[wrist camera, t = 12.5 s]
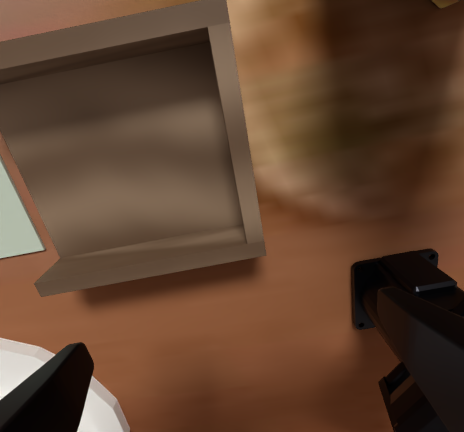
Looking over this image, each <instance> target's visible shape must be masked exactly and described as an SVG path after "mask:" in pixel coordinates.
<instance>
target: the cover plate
mask: <svg viewBox="0 0 464 432" xmlns="http://www.w3.org/2000/svg"><path fill="white" fill-rule="evenodd" d="M45 249H46V248H45V246H44V244H43V242H42V240H41V238H40V235H39V233H38V231H37V229H36V227H35V225H34V223H33V221H32V219H31V217H30V215H29V213H28V211H27V209H26V207H25V205H24V203H23V200H22V198H21V196H20V194H19V192H18V190H17V188H16V186H15V184H14V182H13V180H12V178H11V176H10V174H9V172H8V170H7V167H6V165H5V163H4V161H3V159H2V157H1V155H0V258H5V257H10V256H15V255H21V254H26V253H31V252H37V251H42V250H45Z"/></svg>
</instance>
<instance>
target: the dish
mask: <svg viewBox="0 0 464 432" xmlns="http://www.w3.org/2000/svg"><path fill="white" fill-rule="evenodd" d="M54 356H55V354H53V353H51V352H49V351H47V350H45V349H43V348H41V347H38V346H34V345H29V344H25V343H21V342H16V341H12V340H8V339H3V338H0V400H1V399H2V398H3V397H5V396H6V395H7V394H8V393H9V392H11V391H12V390H13V389H14V388H16V387H17V386H18V385H19V384H20V383H22V382H23V381H24V380H25V379H27V378H28V377H29V376H30V375H32V374H33V373H34V372H35V371H36V370H38V369H39V368H40V367H41V366H43V365H44V364H45V363H46V362H47V361H49V360H50V359H51V358H52V357H54ZM77 432H130V427H129V425H128V423H127V420H126V418H125V416H124V414H123V412H122V409H121V407H120V405H119V403H118V400H117V399H116V398H115V397H114V396H113V395H112V394H111V393H110V392H109V391H108V390H107V389H106V388H105V387H104V386H103V385H102V384H100V383H99V382H98V381H97V380H96V379H95V378H94V377H93V376H92V378H91V382H90V386H89V390H88V394H87V398H86V402H85V406H84V410H83V414H82V417H81V421H80V424H79V427H78V431H77Z"/></svg>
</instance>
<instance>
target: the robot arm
mask: <svg viewBox="0 0 464 432" xmlns="http://www.w3.org/2000/svg"><path fill="white" fill-rule="evenodd" d="M430 255H431V256H430ZM429 256H430V257H429ZM437 265H438V253H437V252H436V251H435V250H433V249H425V250H419V251H410V252H405V253H399V254H394V255H388V256H383V257H381V258H375V259H370V260H364V261H359V262H356V263H354V264H353V266H352V295H353V323H354V325H355V327H356V328H357V329H359V330H362V329H368V328H373V327H376V329H377V330H378V331H379V333H380V334H381V336H382V337H383V338H384V340H385V341H386V343H387V344H388V345H389V347H390V348H391V350H392V351H393V352H394V354H395V355H396V357H397V358H398V359H399V361H400V363H399V364H398V365H397V366H396V367H395V368H394V369H393V370H392V371H391V372H390V373H389V374H388V375H387V376H386V377H383V378H382V379H381V380H380V381H379V382H378V383H379V386H380V389H381V393H382V396H383V399H384V402H385V405H386V408H387V411H388V415H389V418H390V421H391V424H392V427H393V430H394V432H464V291H463V290H461V289H460V288H459V287H457V282H456V281H455V280H453V279H452V278H451V277H449V276H448V275H447V274H445V273H444V272H442V271H441V270H440V269H438V268H437ZM359 267H361V268H360V269H359V270H357V269H358V268H359ZM359 323H360V324H359ZM93 370H94V363H93V360H92V358H91V356H90V354H89V352H88V350H87V348H86V346H85V344H84V343H81V342H79V343H74V344H69V345H67V346H66V347H65V348H63V349H62V350H61V351H60V352H58V353H57V354H56V355H55V356H54V357H52V358H51V359H50V360H49V361H47V362H46V363H45V364H44V365H43V366H41V367H40V368H39V369H38V370H36V371H35V372H34V373H33V374H32V375H30V376H29V377H28V378H27V379H25V380H24V381H23V382H22V383H20V384H19V385H18V386H17V387H16V388H14V389H13V390H12V391H11V392H9V393H8V394H7V395H6V396H5V397H3V398H2V399H1V400H0V432H77V431H78V427H79V424H80V421H81V417H82V414H83V410H84V406H85V402H86V398H87V394H88V390H89V386H90V382H91V378H92V374H93Z"/></svg>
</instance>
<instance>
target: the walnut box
mask: <svg viewBox="0 0 464 432" xmlns="http://www.w3.org/2000/svg"><path fill="white" fill-rule="evenodd" d="M0 131H1V133H2V135H3V137H4V140H5V142H6V144H7V146H8V148H9V150H10V152H11V154H12V157H13V159H14V161H15V163H16V165H17V167H18V169H19V171H20V174H21V176H22V178H23V180H24V182H25V184H26V186H27V188H28V191H29V193H30V195H31V197H32V199H33V201H34V203H35V205H36V208H37V210H38V212H39V214H40V216H41V218H42V220H43V222H44V225H45V227H46V229H47V231H48V233H49V235H50V237H51V239H52V242H53V244H54V246H55V248H56V250H57V252H58V254H59V256H60V259H59V260H58V261H57V262H56V263H55V264H54V265H53V266H52V267H51V268H50V269H49V270H48V271H47V272H45V273H44V274H43V275H42V276H41V277H40V278H39V279H38V280H37V281H36V282H35V283H34V285H35V286H36V288H37V290H38V292H39V294H40V296H41V297H44V296H49V295H54V294H60V293H65V292H71V291H76V290H82V289H87V288H93V287H98V286H103V285H109V284H114V283H120V282H125V281H131V280H136V279H141V278H147V277H152V276H158V275H163V274H169V273H174V272H179V271H185V270H190V269H196V268H201V267H207V266H212V265H217V264H223V263H228V262H234V261H239V260H245V259H250V258H255V257H261V256H266V250H265V243H264V237H263V231H262V224H261V218H260V211H259V205H258V199H257V192H256V186H255V180H254V173H253V167H252V161H251V154H250V148H249V142H248V135H247V129H246V123H245V116H244V110H243V103H242V97H241V91H240V84H239V78H238V72H237V65H236V59H235V53H234V46H233V40H232V34H231V27H230V21H229V14H228V8H227V2H226V0H200V1H195V2H191V3H186V4H181V5H176V6H171V7H166V8H162V9H157V10H152V11H147V12H142V13H138V14H133V15H128V16H123V17H118V18H113V19H109V20H104V21H99V22H94V23H89V24H84V25H80V26H75V27H70V28H65V29H60V30H55V31H51V32H46V33H41V34H36V35H31V36H27V37H22V38H17V39H12V40H7V41H2V42H0Z"/></svg>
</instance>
